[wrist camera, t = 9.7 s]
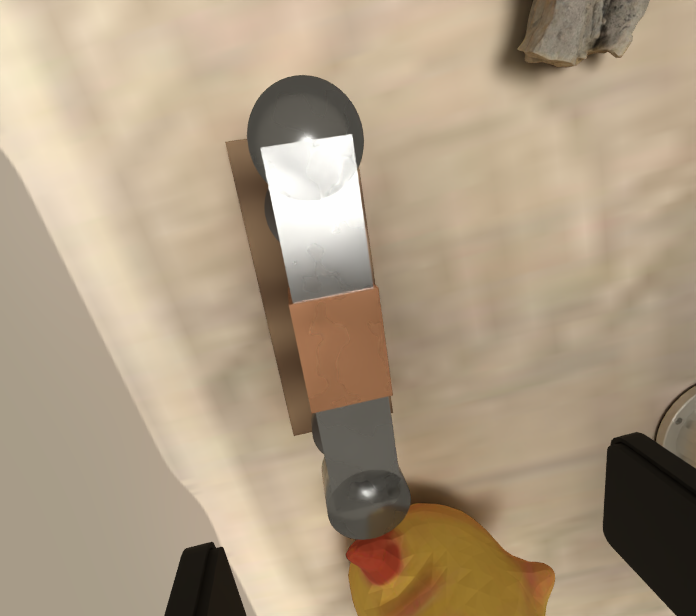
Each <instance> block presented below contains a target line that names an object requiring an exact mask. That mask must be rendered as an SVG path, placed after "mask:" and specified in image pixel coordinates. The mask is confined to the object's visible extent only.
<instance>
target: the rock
mask: <svg viewBox="0 0 696 616" xmlns="http://www.w3.org/2000/svg"><path fill="white" fill-rule="evenodd" d="M648 3H649V0H533V3H532V6H531V10H530V13H529V17H528V23H527V29H526V36H525V38H524V40H523V42H522V43H521V45H520V46H519V47H518V49H517V50H520V51H522V52H524V53H525V62H529V63H540V62H543V63H547V64H552V65H554V66H556V67H562V66H564V67H570V66H576V65H577V64H578V63H580V62H581V61H582V60H583V59H587V55H590V54H593V53H597V52H598V53H606V52H609V53H611V54H612V55H613V56H614V57H616V58H621V57H622V56H623V54H624V53H625V51H626V50H627V48H628V47H629V45H630V44H631V42H632V37H633V36H632V32H633V30H634V28H635V27H636V25H637V23H638V22H639V21H640V19H641V18H642V17H643V15H644V14H645V11H646V9H647V6H648Z"/></svg>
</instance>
